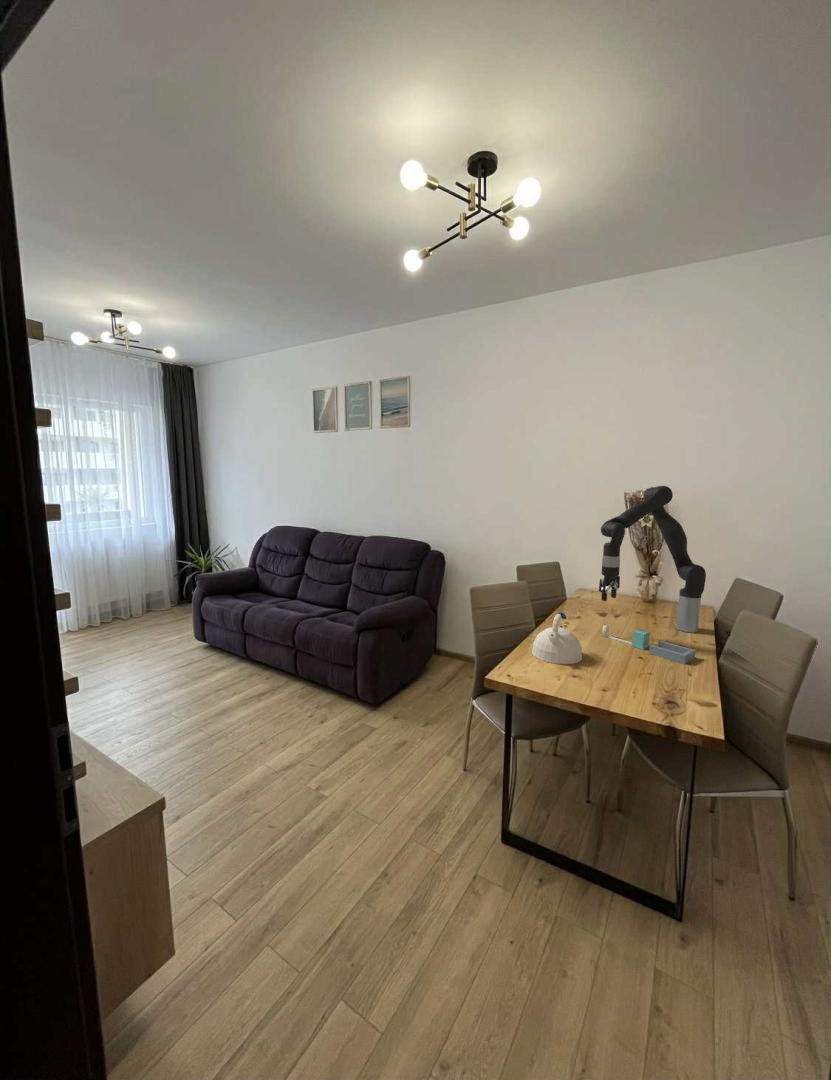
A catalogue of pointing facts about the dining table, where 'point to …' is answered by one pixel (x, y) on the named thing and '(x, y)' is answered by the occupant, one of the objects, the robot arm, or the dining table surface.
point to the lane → (672, 652)
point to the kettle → (557, 644)
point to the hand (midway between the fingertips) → (608, 599)
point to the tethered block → (638, 638)
